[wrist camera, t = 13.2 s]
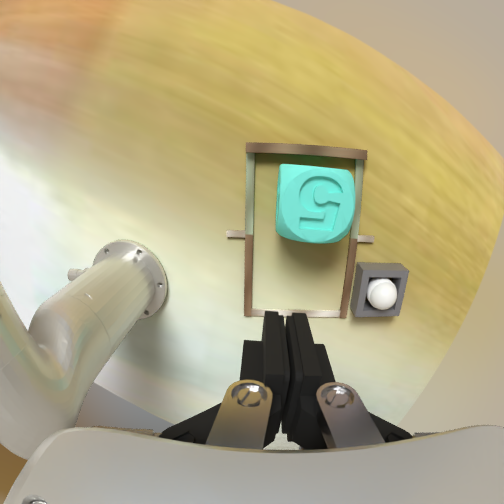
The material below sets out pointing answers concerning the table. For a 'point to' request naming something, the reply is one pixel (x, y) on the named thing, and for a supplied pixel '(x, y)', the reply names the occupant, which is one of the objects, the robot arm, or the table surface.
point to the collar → (361, 284)
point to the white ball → (381, 292)
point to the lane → (248, 232)
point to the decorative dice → (314, 203)
